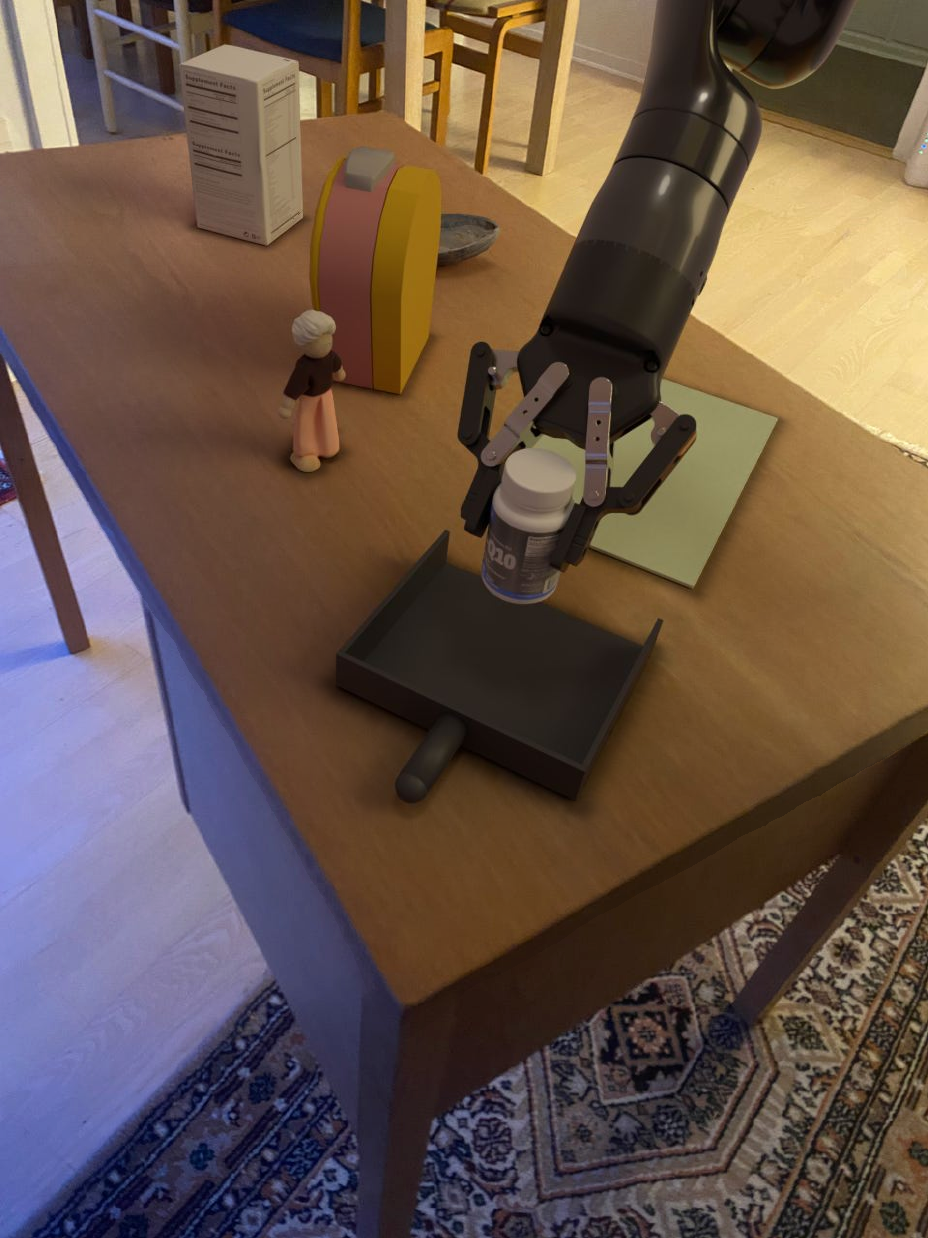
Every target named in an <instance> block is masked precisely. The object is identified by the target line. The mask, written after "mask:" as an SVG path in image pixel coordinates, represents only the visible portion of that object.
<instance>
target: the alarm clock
mask: <svg viewBox="0 0 928 1238" xmlns="http://www.w3.org/2000/svg"><path fill="white" fill-rule="evenodd" d="M441 188H442V187H441V180H440V178H439V176H438V173H437V171H436V170H435V169H430V168H425V167H419V166H414V165H408V164H403V163H397V162H395V153H394V152H393V151H390V150H385V149H380V148H374V147H369V146H357V147H355V148H354V149H352V150H350V151H349V153H348V154H346V155H344V156H341V157H339V158H337V159H336V160H335V162H334V164H333V166H332V167H331V170H330V171H329V173H328V175H327V176H326V178H325V180H324V182H323V184H322V187H321V192H320V195H319V197H318V202H317V205H316V208H315V211H314V219H313V226H312V232H311V237H310V238H311V239H310V246H309V270H308V271H309V273H308V278H309V287H310V298H311V305H312V308H313V309H312V310H315V311H320V312H323V313H325V314H326V315H328V316H330V317H331V318H332V319H333V320H334V322H335V325H336V329H335V333H334V334H332V341H333V343H332V348H331V350H332V351H334V352H336V353H337V354H338V356H339V357H340V358H341V361H342V366H343V370H344V371H345V374H346V375H345V378H344V380H342V381H336V380H335V379H334V378H333V374H332V382H337V383H341V384H347V385H351V386H357V387H360V388H361V387H362V388H367V389H372V390H373V389H374V390H377V391H381V392H386V393H387V392H388V393H392V394H398V395H402V392H403V390H404V389H405V386H406V384H407V383H408V380H409V378H410V376H411V374H412V372H413V370H414V369H415V366H416V365H417V362H418V360H419V358H420V356H421V354H422V352H423V350H424V348H425V346H426V344H427V342H428V339H429V337H430V330H431V321H432V311H433V302H434V292H435V285H436V284H435V283H436V277H437V276H436V275H437V267H438V264H437V258H438V249H439V240H440V231H441V214H442V203H443V200H442V189H441Z"/></svg>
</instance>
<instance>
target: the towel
mask: <svg viewBox="0 0 928 1238" xmlns="http://www.w3.org/2000/svg"><path fill="white" fill-rule="evenodd" d="M660 394H661V402H663V403H664V404H666V405H667V406H669V407H670V408H672V409H673V410H675V411H676V412H677V413H679V414H680V415H682V414H689V415H691V416H693V417H694V418H695V420H696V424H697V437H696V441H695V442H694V444H693V445H692V446H691V448H690V449H689V450H688V451H687V453H686V454H685V455H684V457H683V458H682V459H681V460H680V462H679V463H678V464H677V466H676V467H675V468H674V469H673V471H672V472H671V473H670V475H669V476H668V477H667V478H666V480H665V481H664V482H663V483H662V485H661V486H660V487H659V489H658V490H657V491H656V492H655V494H654V495H653V496H652V498H651V499H650V500H649V501H648V503H647V504H646V505H645V506H644V508H643V509H642V510H641V512H640V513H638V514H637V515H633V516H632V515H627V514H626V513H610V514H607V515H605V516H604V517H603V518H602V519H601V520H600V522H599V525H598V527H597V529H596V532H595V534H594V536H593V539H592V541H591V543H590V546H589V548H588V549H592V550H594V551H597V552H600V553H602V554H605V555H607V556H609V557H612V558H615V559H617V560H618V561H619V560H620V561H622V562H624V563H626V564H629V565H632V566H634V567H637V568H639V569H642V570H644V571H647V572H650V573H652V574H654V575H656V576H659V577H662V578H664V579H667V580H669V581H672V582H674V583H677V584H679V585H682V586H684V587H686V588H689V589H692V590H693V589H694V588H695V586H696V584H697V582H698V580H699V578H700V575H701V574H702V572H703V571H704V568H705V566H706V564H707V562H708V560H709V558H710V556H711V555H712V552H713V550H714V548H715V545H716V544H717V542H718V539H719V538H720V537H721V534H722V531H723V530H724V528H725V526H726V524H727V521H728V520H729V518H730V516H731V514H732V512H733V511H734V508H735V506H736V504H737V502H738V500H739V498H740V496H741V494H742V492H743V490H744V488H745V486H746V484H747V482H748V481H749V478H750V476H751V474H752V472H753V470H754V469H755V466H756V464H757V462H758V460H759V458H760V456H761V454H762V452H763V451H764V448H765V446H766V444H767V442H768V440H769V438H770V436H771V434H772V432H773V430H774V428H775V426H776V424H777V422H778V420H779V417H776V416H773V415H770V414H767V413H764V412H761V411H758V410H756V409H752V408H750V407H747V406H744V405H742V404H738V403H735V402H733V401H729V400H726V399H725V398H722V397H721V398H720V397H718V396H715V395H711V394H709V393H706V392H703V391H701V390H697V389H695V388H691V387H690V386H689V387H688V386H686V385H682V384H679V383H677V382H673V381H671V380H668V379H665V378H662V381H661V386H660ZM654 424H655V423H654V421H653V420H652V419H650V420H648V421H646V422H645V423H643V424H642V425H640V426H639V427H637V428H635V429H634V430H632V431H631V432H629V433H628V434H626V435H624V436H623V437H621V438H620V439H618V440H617V441H615V451H614V464H613V473H612V478H611V487H623V486H624V485H625V484H626V482H627V481H628V480H629V478H630V477H631V476H632V475H633V473H634V472H635V471H636V469H637V468H638V467H639V466H640V464H641V463H642V462H643V460H644V459H645V458H646V457H647V455H648V454H649V453H650V451H651V450H652V449H653V448H654V446H653V444H652V441H651V432H652V430H653V428H654ZM532 448H539V449H546V450H550V451H553V452H555V453H558V454H560V455H561V456H563V457H565V458H566V459H567V460H568V461H569V462H570V463H571V464H572V465H573V467H574V468H575V471H576V482H575V486H574V491H573V494H572V498H573V500H574V504H575V503H577V504H580V502H581V499H582V497H583V490H584V478H585V450H584V449H581V448H579V447H577V446H576V445H574V444H573V443H572V442H570V441H569V440H567V439H558V438H552V437H549V436H547V435H543V436H542V437H541V438H540V440H539V441H538V442H537V443H536V444H535V445H534V446H533V447H532Z"/></svg>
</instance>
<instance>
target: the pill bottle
mask: <svg viewBox="0 0 928 1238" xmlns="http://www.w3.org/2000/svg"><path fill="white" fill-rule="evenodd" d="M575 482H576V471H575V468H574V467H573V465H572V464H571V463H570V462H569V461H568V460H567V459H566V458H565V457H563V456H561V455H560V454H558V453H555V452H553V451H550V450H546V449H539V448H527V449H522V450H519V451H516V452H514V453H513V454H511V455H510V456H509V457H508V459H507V460H506V462H505V466H504V471H503V475H502V483H501V484H500V485H499V486H498V487H497V489H496V490H495V492H494V495H493V499H492V505H491V512H490V520H489V524H488V527H487V530H486V531H487V532H486V538H485V543H484V544H485V545H484V552H483V556H482V557H483V558H482V563H481V577H482V579H483V581H484V584H485V585H486V587H487V588H488V589H489V590H490V592H491V593H492V594H493V595H495V596H497V597H498V598H500V599H502V600H504V601H507V602H511V603H515V604H532V603H537V602H543V601H545V600H546V599H548V598H549V597H551V595H553V594H554V591H555V590H556V589H557V585H558V582H559V578H560V574H561V572H560V571H558V570H555V569H553V568H552V567H550V566H549V563H550V560H551V557H552V555H553V553H554V550H555V548H556V546H557V543H558V541H559V539H560V536H561V534H562V532H563V529H564V527H565V525H566V522H567V520H568V518H569V515H570V513H571V511H572V509H573V506H574V500H573V498H572V494H573V491H574V486H575Z"/></svg>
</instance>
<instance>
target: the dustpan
mask: <svg viewBox="0 0 928 1238" xmlns="http://www.w3.org/2000/svg"><path fill="white" fill-rule="evenodd" d="M450 534H451V531H450V530H448V529H444V530H443V532H442V533H441V534H440V535H439V536H438V537H437V538H436V539H435V541H434V542H433V543H432V544H431V545H430V546H429V547H428V549H427V550H425V552H424V553H423V554H422V556H420V557H419V559H418V560H417V561H416V562H415V563H414V564H413V566H412V567H411V568H410V569H409V570H408V571H407V572H406V574H404V576H403V577H402V578H401V579H400V580H399V582H398V583H396V585H395V586H394V587H393V588H392V589H391V590H390V592H389V593H388V594H387V595H386V597H385V598H383V600H382V601H381V602H380V603H379V605H378V606H377V607H376V608H375V609H374V610H373V611H372V612H371V613H370V615H368V617H367V618H366V619H365V620H364V621H363V623H362V624H361V625H360V626H359V627H358V628H357V629H356V631H354V633H353V634H352V635H351V636H350V637H349V638H348V640H347V641H346V642H345V643H344V644H343V645H342V646H341V648H340V649H339V650H338V651H337V652H336V654H335V686H337V687H340V688H342V689H344V690H346V691H348V692H349V693H352V694H354V695H357V697H360V698H362V699H364V700H366V701H368V702H370V703H372V704H374V705H377V706H378V707H381V708H383V709H386V710H387V711H388V712H391V713H393V714H395V715H398V716H399V717H401V718H403V719H405V720H407V721H409V722H412V723H413V724H416V725H418V726H420V727H422V728H424V729H426V730H427V731H428V732H427V733H426V735H425V736H424V738H423V739H422V740H421V742H420V744H419V745H418V746H417V747H416V749H415V750H414V751H413V753H412V754H411V756H410V758H409V759H408V760H407V762H406V763H405V764H404V766H403V768H402V769H401V770H400V772H399V773H398V774H397V777H396V778H395V781H394V791H395V793H396V796H397V798H399V799H400V800H401V801H402V802H404V803H406V804H412V805H413V804H417V803H420V802H422V801H423V800H424V799H425V798H426V797H427V796H428V795H429V793H430V792H431V790H432V789H433V787H434V786H435V784H436V782H437V781H438V780H439V778H440V776H441V775H442V774H443V772H444V771H445V769H446V768H447V766H448V764H449V763H450V761H451V760H452V759H453V757H454V756H455V754H456V752H457V751H458V750H459V748H460V747H463V748H465V749H468V750H470V751H472V752H474V753H475V754H478V755H480V756H482V757H484V758H486V759H488V760H490V761H492V762H494V763H496V764H499V765H500V766H503V767H505V768H507V769H508V770H511V771H513V772H515V773H517V774H519V775H521V776H523V777H525V778H528V779H529V780H532V781H534V782H536V783H538V784H540V785H542V786H544V787H546V788H548V789H550V790H553V791H555V792H556V793H559V794H560V795H563V796H565V797H567V798H569V799H570V800H573V801H576V800H577V799H578V798H579V796H580V794H581V792H582V790H583V788H584V786H585V784H586V782H587V780H588V778H589V776H590V774H591V772H592V770H593V768H594V767H595V764H596V763H597V760H598V758H599V756H600V754H601V753H602V751H603V749H604V747H605V745H606V743H607V742H608V739H609V737H610V735H611V733H612V732H613V729H614V727H615V725H616V724H617V722H618V720H619V718H620V715H621V714H622V712H623V710H624V708H625V706H626V704H627V702H628V700H629V698H630V696H631V695H632V692H633V691H634V688H635V686H636V684H637V682H638V680H639V678H640V677H641V675H642V672H643V671H644V669H645V667H646V665H647V663H648V661H649V659H650V657H651V655H652V653H653V651H654V648H655V645H656V642H657V639H658V638H659V634H660V631H661V630H662V626H663V623H664V621H665V620H664V619H663V618H660V617H657V619H656V621H655V623H654V625H653V627H652V629H651V631H650V633H649V634H648V636H647V638H646V640H645V642H644V644H640V643H637V642H636V641H633V640H630V639H628V638H626V637H623V636H621V635H618V634H616V633H614V632H611V631H609V630H607V629H605V628H602V627H600V626H598V625H595V624H592V623H591V622H588V621H586V620H584V619H581V618H579V617H577V616H575V615H572V614H570V613H567V612H565V611H562V610H560V609H558V608H555V607H554V606H551V605H548V604H546V603H544V602H542V601H540V602H537V603H532V604H515V603H511V602H507V601H504V600H502V599H500V598H498V597H497V596H495V595H493V594H492V593H491V592H490V590H489V589H488V588H487V587H486V585H485V584H484V581H483V579H482V576H480V575H478V574H475V573H473V572H471V571H468V570H466V569H464V568H461V567H459V566H457V565H454V564H452V563H450V562H448V561H447V560H448V551H449V543H450Z"/></svg>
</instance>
